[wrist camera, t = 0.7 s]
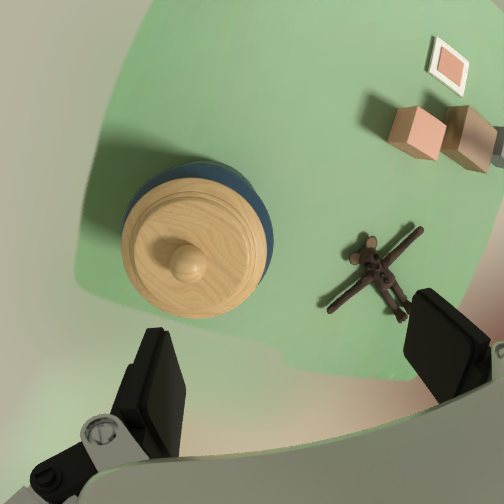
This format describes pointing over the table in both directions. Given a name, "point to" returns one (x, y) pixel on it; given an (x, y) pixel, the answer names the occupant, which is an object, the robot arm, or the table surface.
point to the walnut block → (468, 138)
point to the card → (448, 67)
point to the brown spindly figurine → (379, 274)
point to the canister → (196, 240)
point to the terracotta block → (417, 133)
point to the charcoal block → (498, 148)
